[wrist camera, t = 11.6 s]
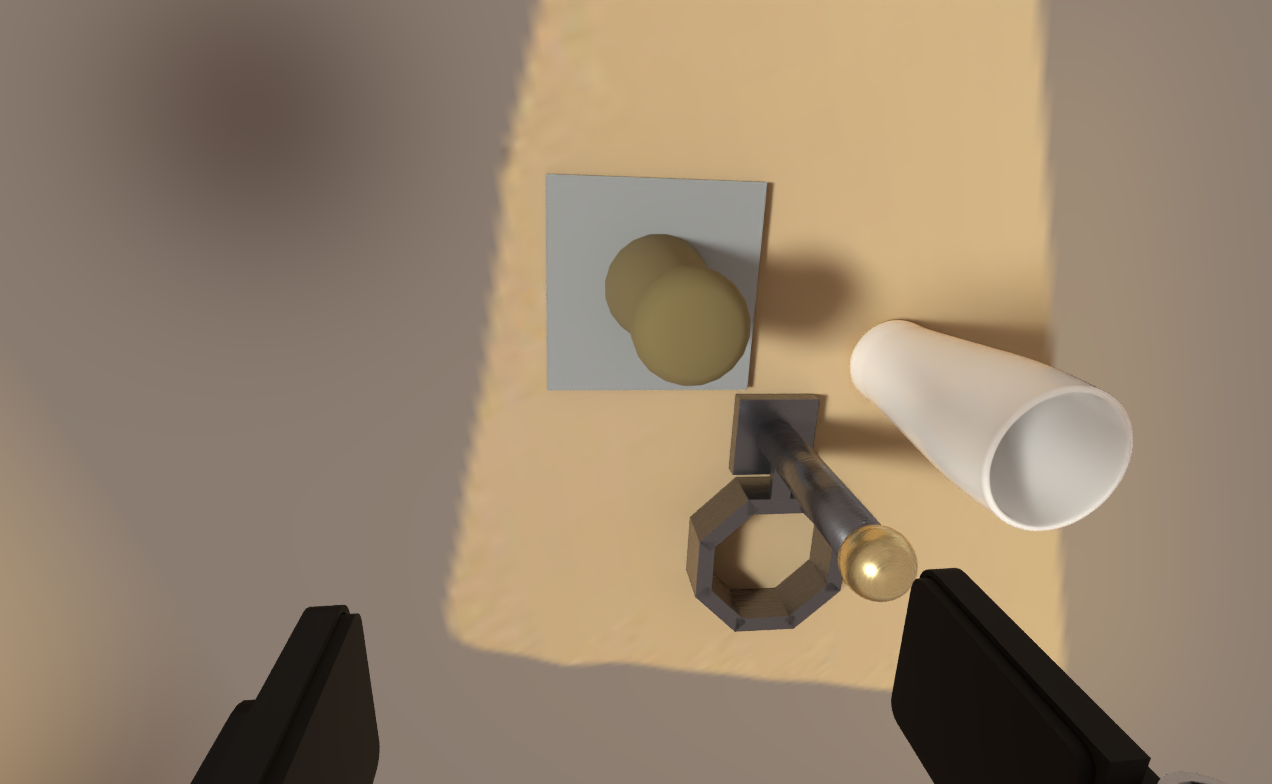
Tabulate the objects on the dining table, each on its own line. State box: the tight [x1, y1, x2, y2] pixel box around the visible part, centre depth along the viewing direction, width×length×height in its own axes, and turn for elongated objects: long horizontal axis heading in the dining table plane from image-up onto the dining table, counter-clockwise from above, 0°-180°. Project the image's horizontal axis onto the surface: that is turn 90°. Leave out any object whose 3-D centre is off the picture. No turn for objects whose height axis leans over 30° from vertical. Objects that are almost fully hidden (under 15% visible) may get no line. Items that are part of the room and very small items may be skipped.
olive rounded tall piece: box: [605, 234, 751, 386], centre depth 32 cm, size 6×6×11 cm
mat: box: [546, 174, 767, 390], centre depth 38 cm, size 12×12×1 cm
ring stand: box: [686, 394, 918, 632], centre depth 36 cm, size 15×10×16 cm, turn 178°
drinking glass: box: [850, 320, 1133, 531], centre depth 34 cm, size 7×7×15 cm
